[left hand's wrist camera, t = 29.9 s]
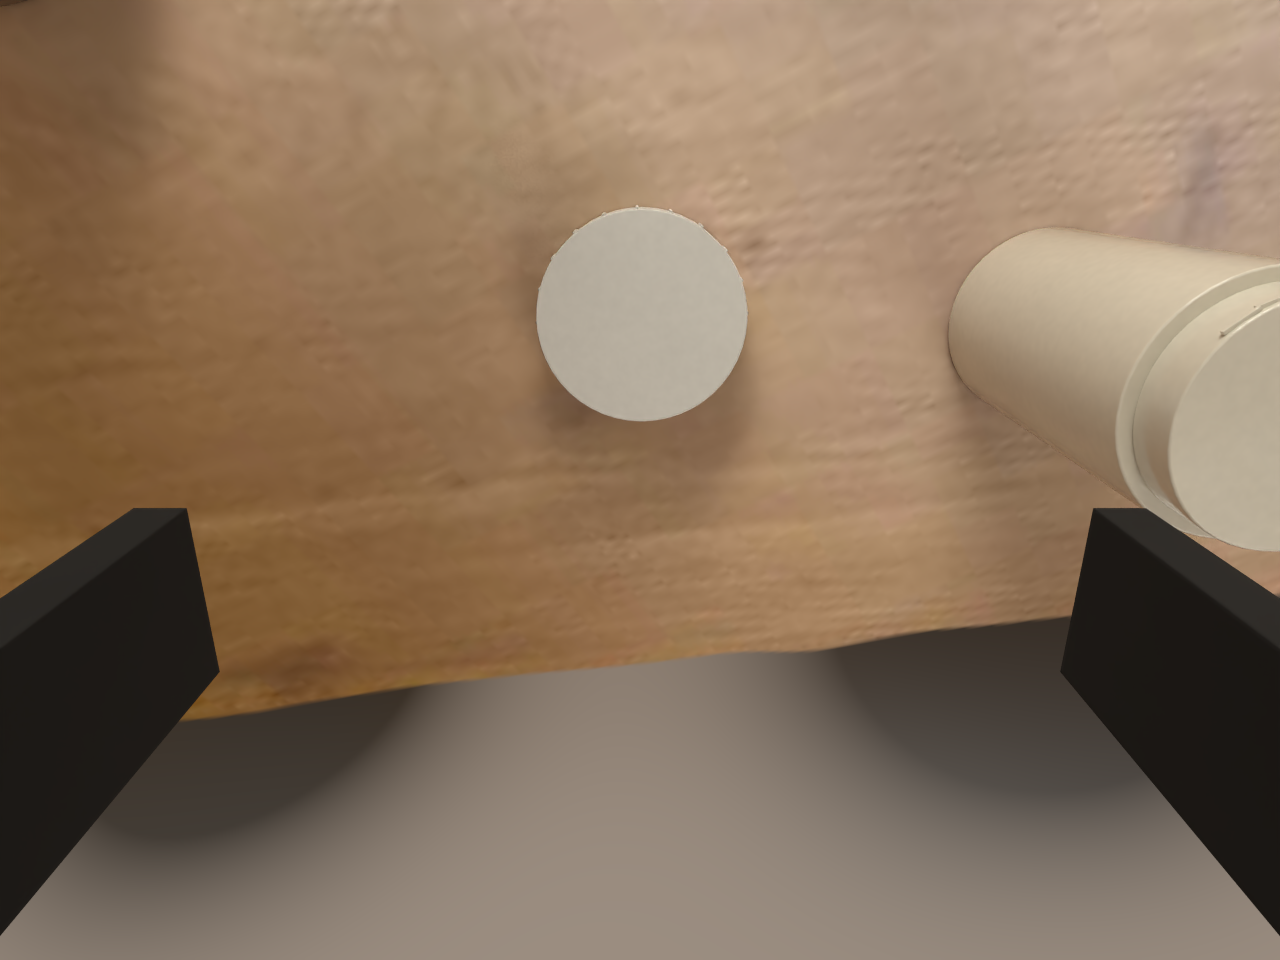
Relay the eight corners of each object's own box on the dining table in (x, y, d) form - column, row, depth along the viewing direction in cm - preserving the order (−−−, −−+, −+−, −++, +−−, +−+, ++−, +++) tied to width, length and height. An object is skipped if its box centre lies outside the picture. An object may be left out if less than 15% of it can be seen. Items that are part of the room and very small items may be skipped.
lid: (502, 273, 37) (494, 279, 35) (682, 165, 36) (684, 165, 34) (605, 443, 40) (603, 457, 38) (777, 349, 38) (784, 359, 36)
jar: (1167, 333, 38) (1518, 446, 23) (1009, 446, 40) (1237, 618, 25) (1075, 185, 36) (1395, 199, 21) (911, 311, 38) (1095, 410, 23)
